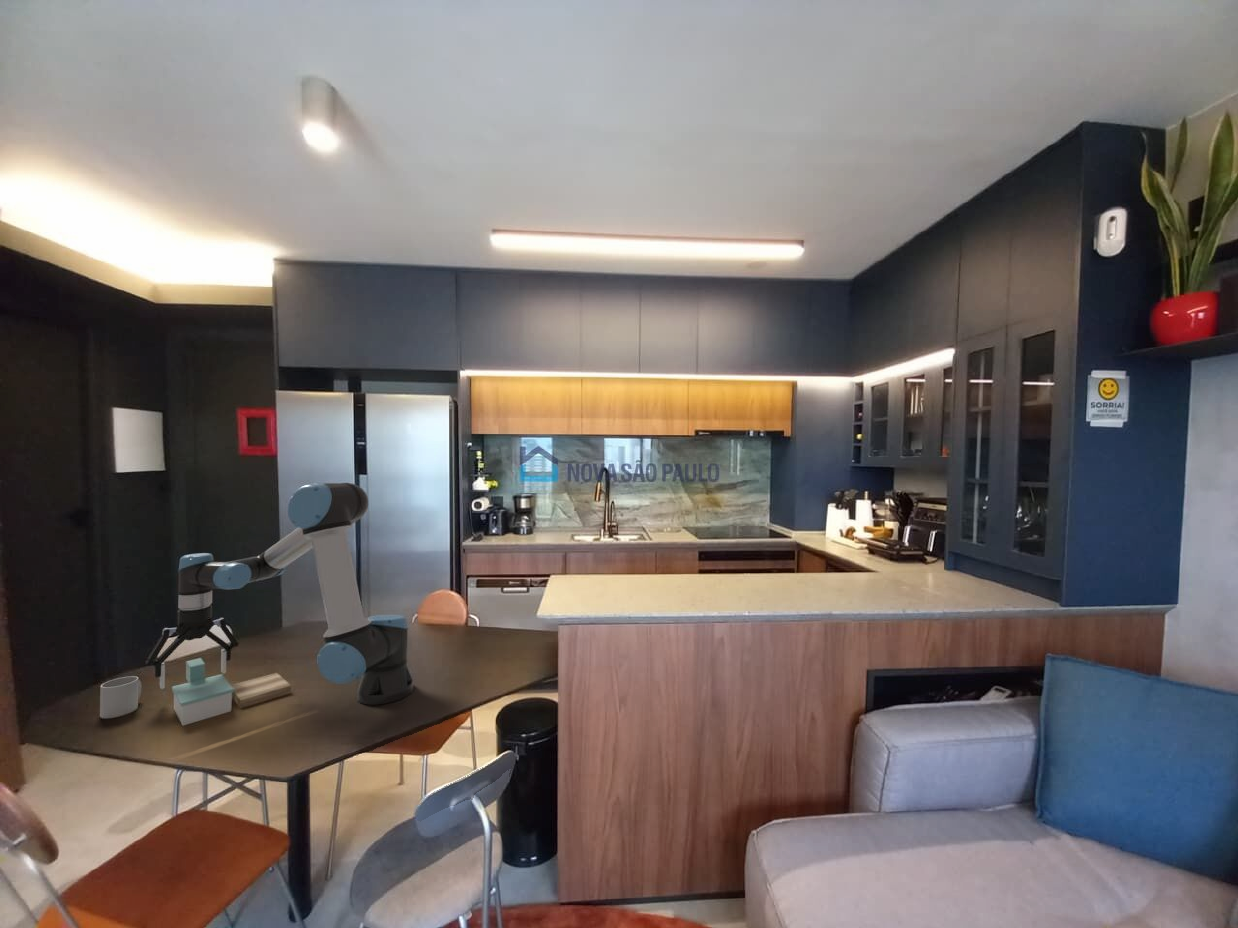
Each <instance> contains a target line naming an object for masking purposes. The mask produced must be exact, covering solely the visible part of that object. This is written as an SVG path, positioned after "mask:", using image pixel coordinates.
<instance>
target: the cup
mask: <svg viewBox="0 0 1238 928" xmlns="http://www.w3.org/2000/svg"><path fill="white" fill-rule="evenodd" d="M99 693H100V694H99V701H100V702H99V718H100V719H113V718H117V717H121V716H126V715H128V714H130V713H132V712H134V711H136V710H137V709H138V708H139V698H140V696H141V693H142V682H141V680H140V679H139V677H138V676H135V675H131V676H124V677H123V676H122V677H118V678H114V679H112V680H111V679H110V680H108V681H106V682H104V683H102V684H101V685H100V692H99Z"/></svg>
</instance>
